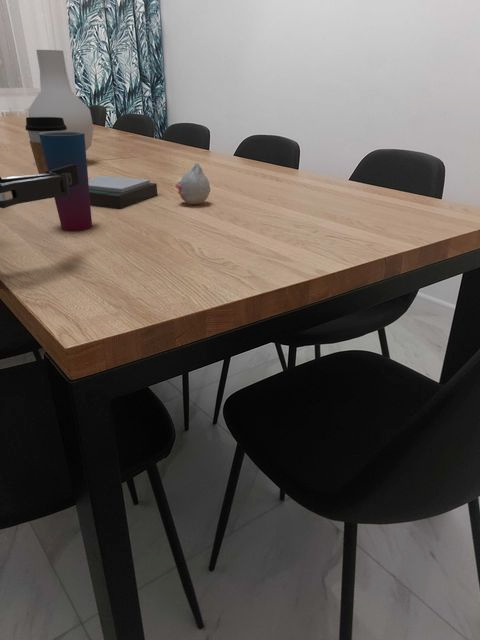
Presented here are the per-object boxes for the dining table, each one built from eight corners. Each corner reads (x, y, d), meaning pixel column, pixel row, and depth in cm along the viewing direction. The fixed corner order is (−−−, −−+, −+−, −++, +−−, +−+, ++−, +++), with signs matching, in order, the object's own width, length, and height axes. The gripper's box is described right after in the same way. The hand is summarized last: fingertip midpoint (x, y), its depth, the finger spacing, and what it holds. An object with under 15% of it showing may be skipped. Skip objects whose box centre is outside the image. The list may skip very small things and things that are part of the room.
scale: (62, 201, 103) (59, 185, 101) (104, 189, 114) (102, 174, 113) (119, 208, 99) (117, 191, 97) (157, 195, 110) (156, 179, 108)
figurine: (174, 201, 105) (171, 161, 101) (206, 199, 107) (205, 159, 103) (179, 208, 100) (177, 166, 96) (214, 206, 102) (212, 165, 98)
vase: (35, 160, 148) (14, 50, 134) (93, 158, 154) (78, 52, 140) (39, 169, 135) (16, 48, 121) (102, 166, 141) (87, 50, 127)
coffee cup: (33, 192, 110) (18, 117, 103) (41, 184, 117) (28, 114, 110) (72, 192, 111) (61, 117, 104) (79, 184, 118) (68, 114, 111)
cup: (56, 223, 89) (39, 131, 81) (96, 220, 91) (83, 130, 83) (55, 233, 83) (37, 135, 76) (98, 230, 85) (84, 135, 78)
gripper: (-164, 229, 59) (-37, 193, 77) (28, 244, 55) (115, 202, 73) (-191, 161, 55) (-50, 140, 74) (13, 172, 51) (108, 147, 70)
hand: (32, 171), depth 73 cm, fingers open, 13 cm apart
